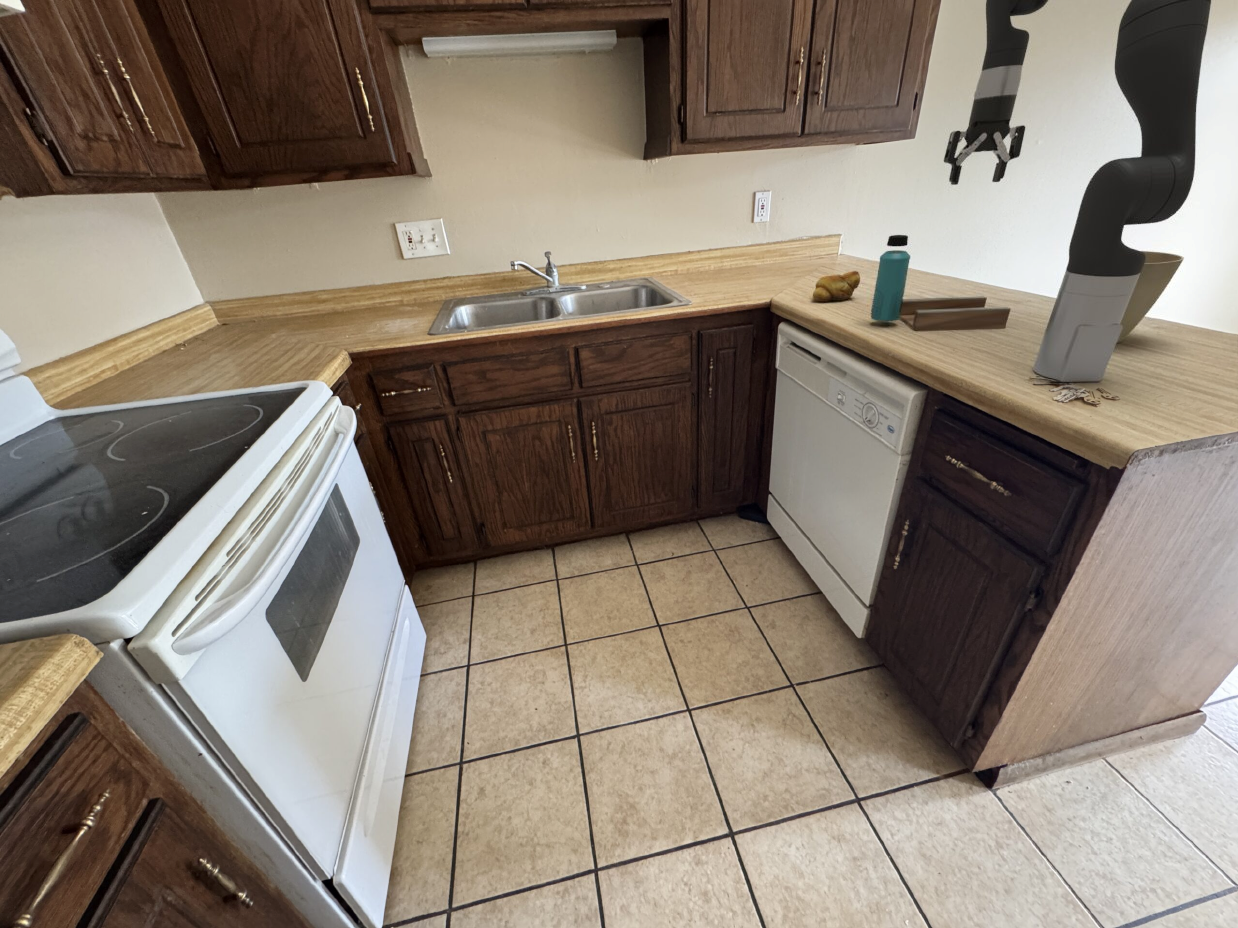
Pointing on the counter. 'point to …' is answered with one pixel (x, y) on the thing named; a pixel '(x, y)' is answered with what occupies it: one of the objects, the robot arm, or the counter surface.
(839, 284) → the bread roll
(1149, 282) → the plant pot
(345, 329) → the counter surface
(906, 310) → the walnut cradle
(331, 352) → the counter surface
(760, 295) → the counter surface
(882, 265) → the beverage bottle
